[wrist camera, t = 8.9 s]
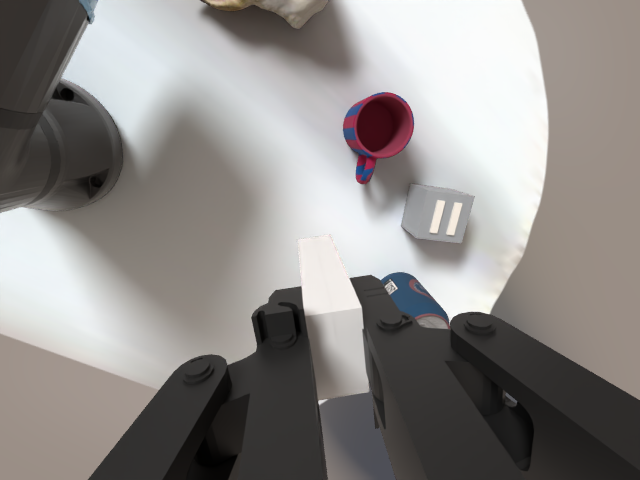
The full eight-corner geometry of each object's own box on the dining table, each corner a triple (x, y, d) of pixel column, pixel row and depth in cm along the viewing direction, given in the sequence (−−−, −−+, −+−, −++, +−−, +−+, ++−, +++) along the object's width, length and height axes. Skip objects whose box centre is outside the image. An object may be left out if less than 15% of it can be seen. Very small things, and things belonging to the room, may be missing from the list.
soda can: (426, 289, 49) (467, 335, 38) (391, 319, 50) (422, 372, 39) (398, 259, 48) (432, 298, 36) (362, 290, 49) (385, 338, 37)
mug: (403, 111, 41) (424, 107, 35) (371, 186, 44) (385, 194, 37) (355, 90, 40) (368, 81, 34) (325, 167, 43) (332, 173, 36)
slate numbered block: (400, 225, 46) (417, 239, 40) (409, 183, 44) (428, 190, 38) (440, 230, 47) (462, 244, 41) (451, 188, 45) (476, 196, 39)
